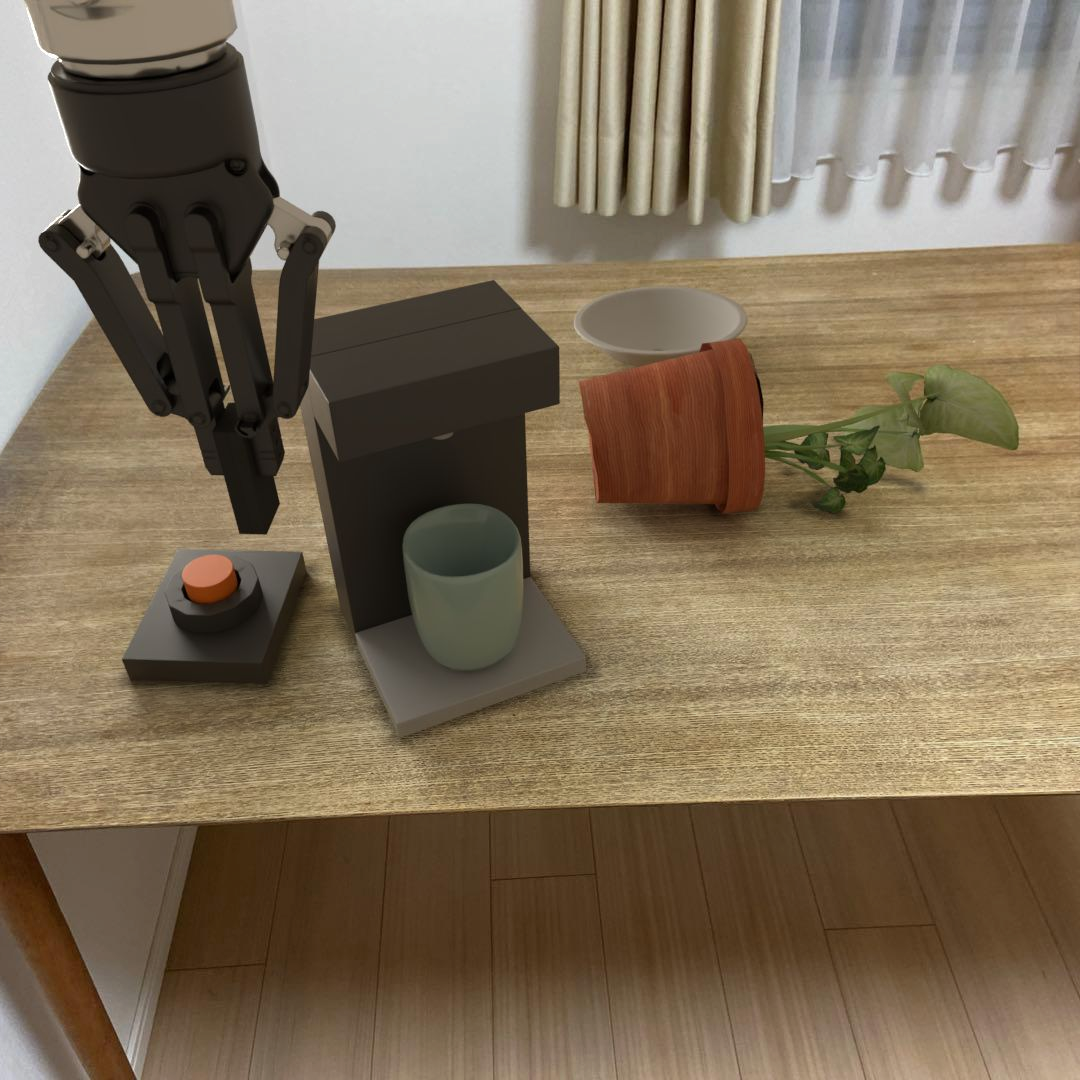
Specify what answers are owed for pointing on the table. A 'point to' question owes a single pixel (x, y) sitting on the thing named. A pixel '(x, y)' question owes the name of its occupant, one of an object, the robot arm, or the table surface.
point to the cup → (465, 584)
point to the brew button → (209, 579)
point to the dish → (658, 322)
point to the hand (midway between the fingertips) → (259, 518)
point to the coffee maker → (429, 477)
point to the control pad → (218, 622)
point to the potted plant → (762, 430)
